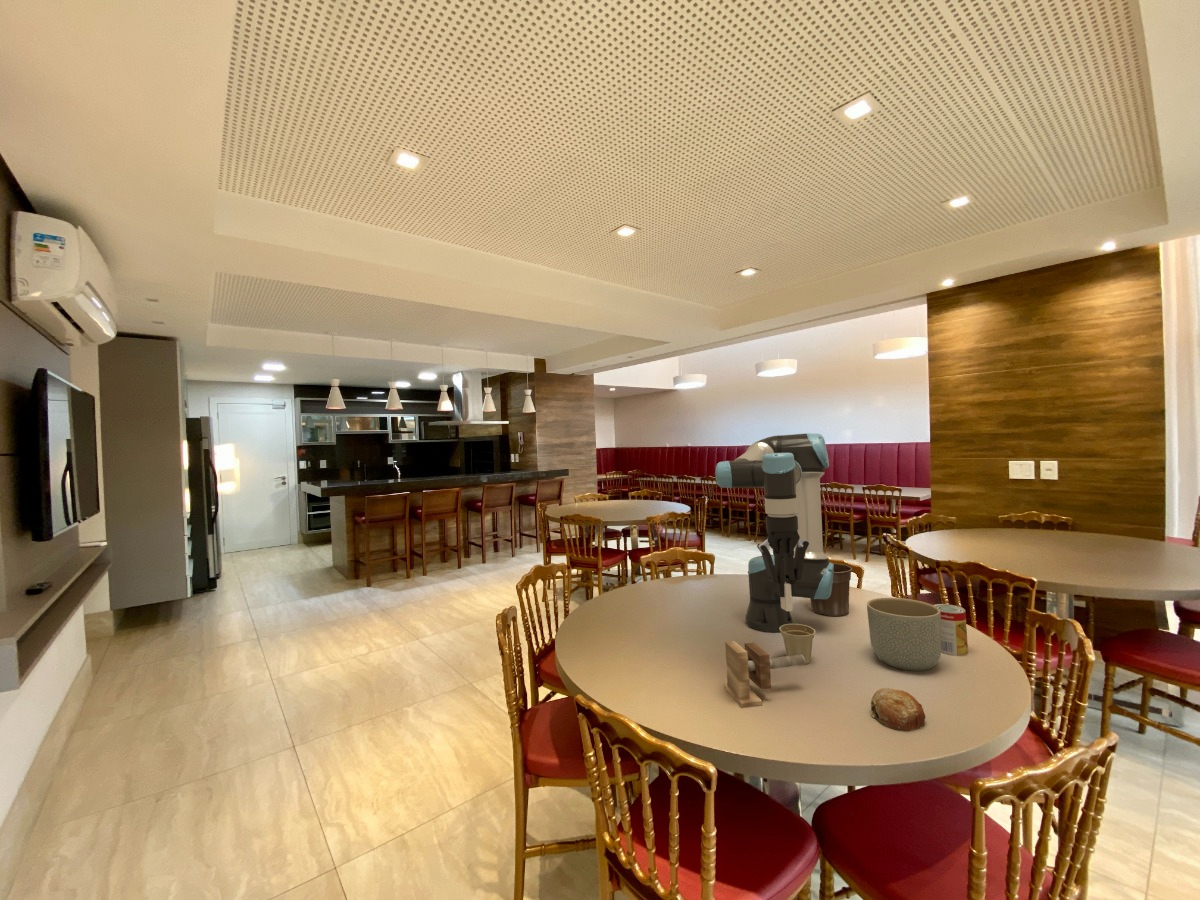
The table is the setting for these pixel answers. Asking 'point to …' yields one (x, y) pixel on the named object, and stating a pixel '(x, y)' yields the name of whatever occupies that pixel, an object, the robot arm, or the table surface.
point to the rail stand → (740, 676)
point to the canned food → (953, 630)
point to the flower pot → (798, 640)
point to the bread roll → (897, 709)
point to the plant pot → (836, 594)
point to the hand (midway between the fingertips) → (786, 609)
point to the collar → (759, 665)
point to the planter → (905, 632)
